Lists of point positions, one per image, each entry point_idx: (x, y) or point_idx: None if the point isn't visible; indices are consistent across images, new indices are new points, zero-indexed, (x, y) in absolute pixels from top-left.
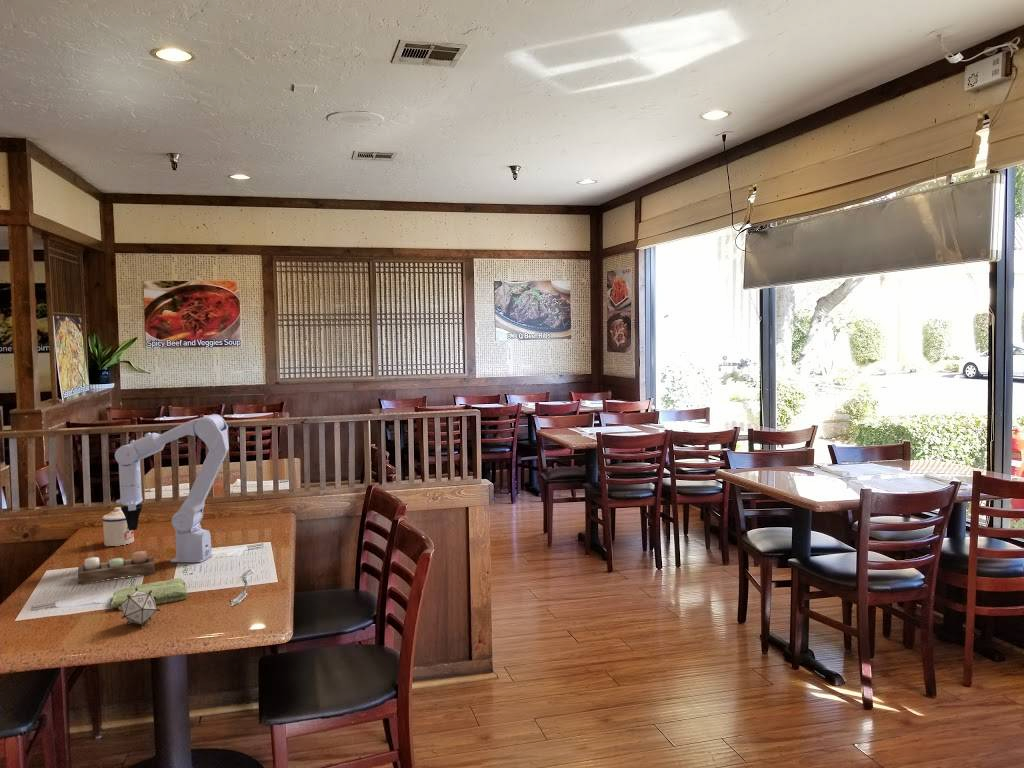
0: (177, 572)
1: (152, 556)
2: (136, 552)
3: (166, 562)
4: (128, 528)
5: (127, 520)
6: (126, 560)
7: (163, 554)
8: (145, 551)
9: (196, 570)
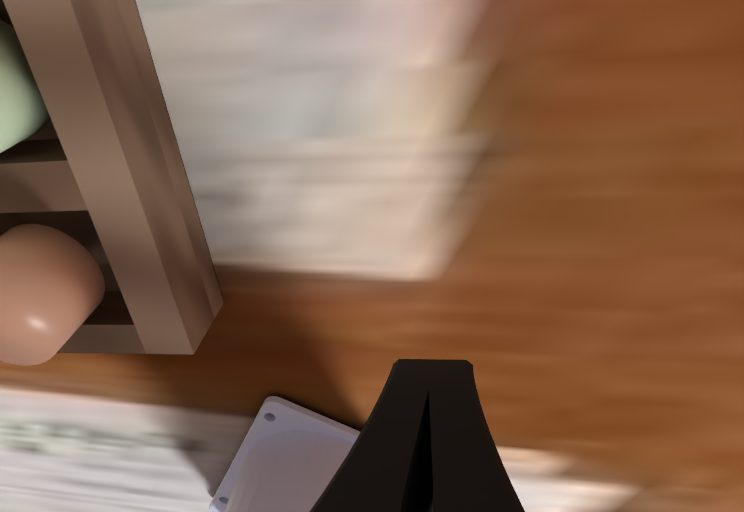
0: (55, 401)
1: (181, 352)
2: (10, 298)
3: (292, 372)
4: (388, 378)
5: (320, 507)
6: (97, 172)
7: (527, 372)
8: (38, 360)
9: (79, 469)
